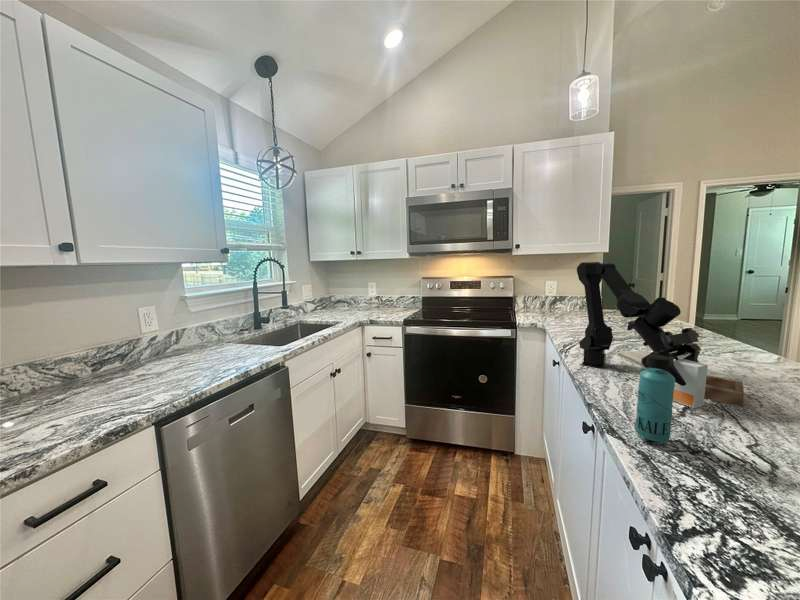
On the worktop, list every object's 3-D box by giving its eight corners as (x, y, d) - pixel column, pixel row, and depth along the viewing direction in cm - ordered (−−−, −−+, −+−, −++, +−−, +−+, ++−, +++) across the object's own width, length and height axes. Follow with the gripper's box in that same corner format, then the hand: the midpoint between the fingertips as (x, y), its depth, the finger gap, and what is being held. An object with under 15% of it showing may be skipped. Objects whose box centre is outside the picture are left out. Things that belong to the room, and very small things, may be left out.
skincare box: (669, 400, 93) (672, 360, 91) (678, 397, 94) (682, 358, 93) (694, 409, 87) (698, 366, 86) (704, 406, 89) (708, 364, 87)
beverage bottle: (653, 432, 77) (660, 351, 74) (678, 448, 71) (686, 360, 68) (627, 433, 77) (632, 352, 74) (649, 450, 70) (656, 361, 68)
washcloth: (648, 371, 116) (648, 363, 116) (615, 356, 134) (615, 349, 133) (681, 370, 116) (682, 362, 116) (643, 355, 134) (644, 348, 133)
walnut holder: (684, 394, 96) (685, 383, 96) (687, 382, 105) (688, 372, 104) (742, 406, 88) (744, 394, 87) (741, 392, 96) (742, 381, 96)
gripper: (656, 322, 88) (703, 374, 79) (695, 315, 95) (742, 362, 86) (624, 344, 96) (664, 393, 87) (662, 336, 103) (702, 381, 94)
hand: (694, 382), depth 89 cm, fingers open, 9 cm apart
